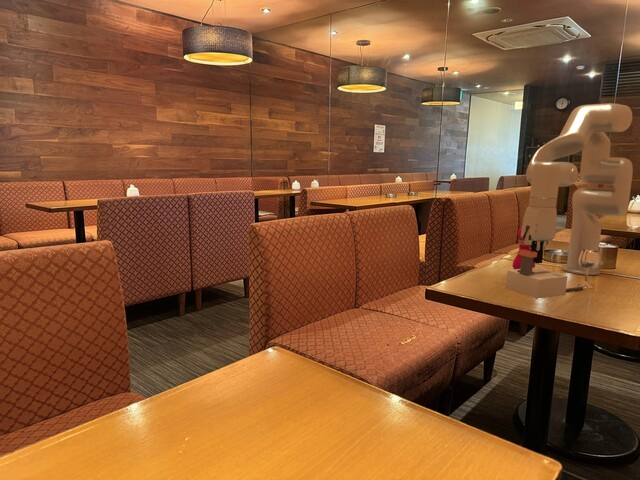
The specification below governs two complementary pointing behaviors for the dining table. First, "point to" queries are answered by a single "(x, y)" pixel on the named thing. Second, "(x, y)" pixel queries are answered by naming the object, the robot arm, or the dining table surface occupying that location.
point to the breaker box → (538, 283)
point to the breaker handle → (527, 261)
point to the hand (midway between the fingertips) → (535, 262)
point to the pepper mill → (521, 247)
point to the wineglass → (588, 263)
